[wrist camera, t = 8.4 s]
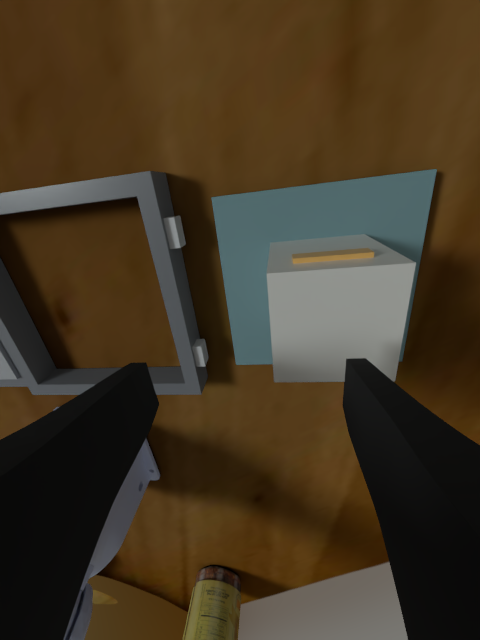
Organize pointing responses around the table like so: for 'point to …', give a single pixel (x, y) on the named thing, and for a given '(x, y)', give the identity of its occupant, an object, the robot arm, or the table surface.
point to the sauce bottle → (214, 606)
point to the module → (336, 306)
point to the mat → (310, 223)
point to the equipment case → (165, 243)
